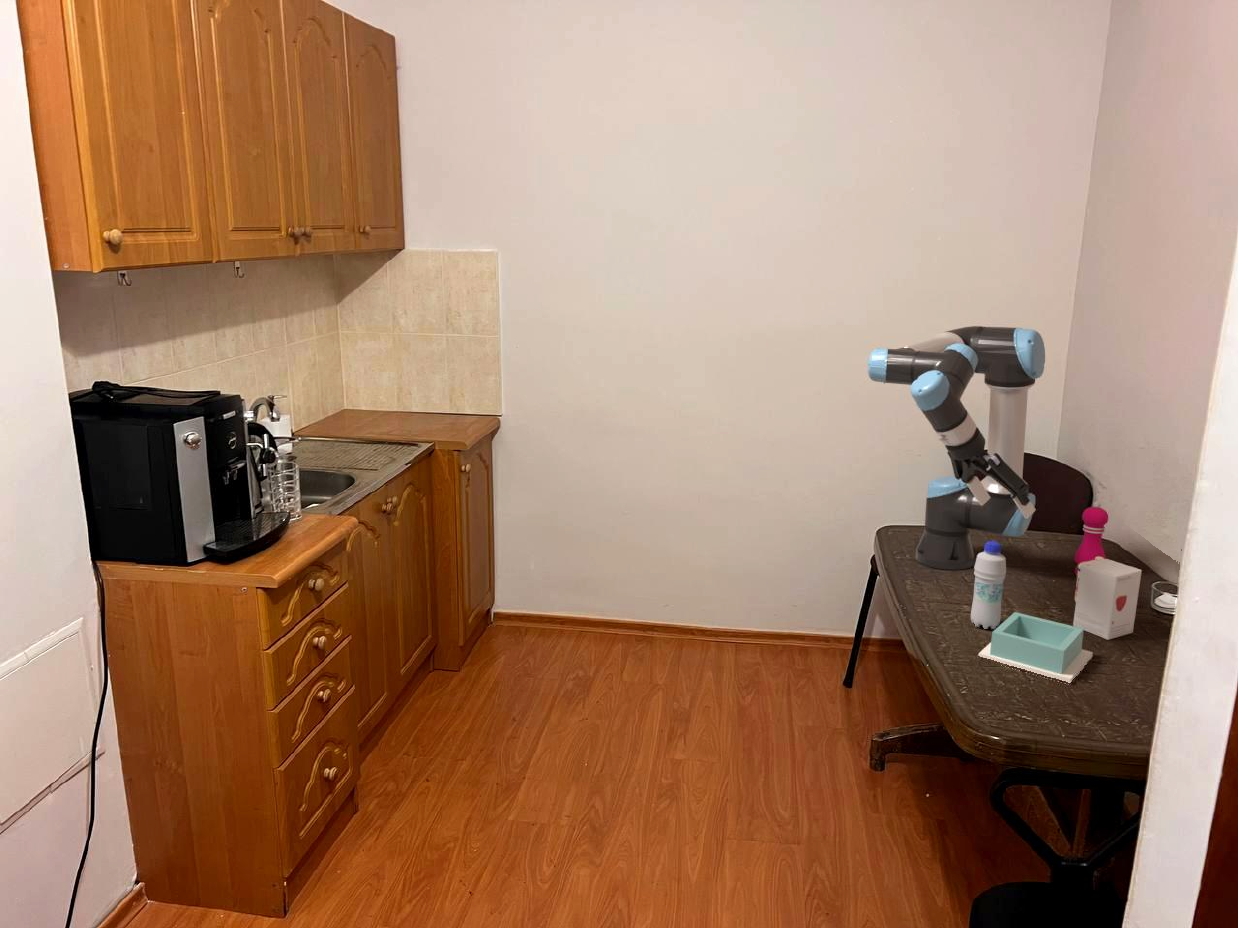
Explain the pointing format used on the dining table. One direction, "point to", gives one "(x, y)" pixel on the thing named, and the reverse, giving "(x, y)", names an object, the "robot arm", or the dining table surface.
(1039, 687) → the dining table surface
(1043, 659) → the holder
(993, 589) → the bottle
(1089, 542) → the magenta tall rounded piece
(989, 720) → the dining table surface
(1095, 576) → the supplement box
